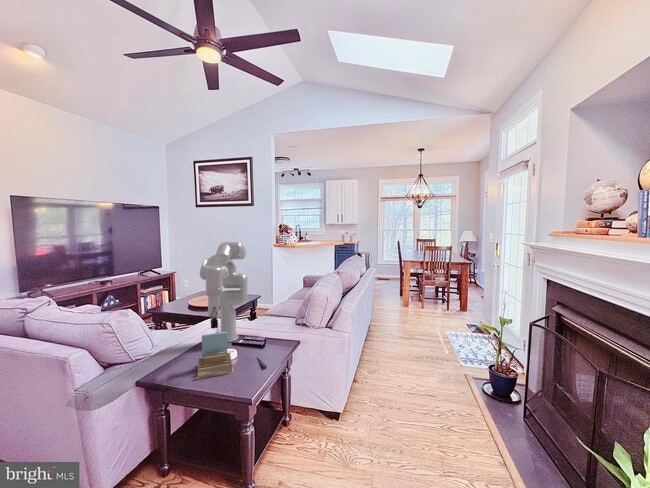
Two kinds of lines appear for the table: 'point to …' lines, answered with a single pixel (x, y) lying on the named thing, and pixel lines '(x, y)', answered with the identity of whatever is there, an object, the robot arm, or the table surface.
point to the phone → (261, 364)
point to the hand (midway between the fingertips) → (214, 325)
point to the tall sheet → (214, 343)
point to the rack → (214, 368)
